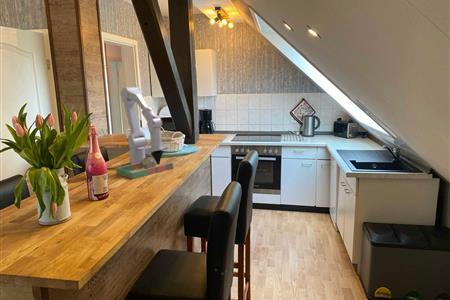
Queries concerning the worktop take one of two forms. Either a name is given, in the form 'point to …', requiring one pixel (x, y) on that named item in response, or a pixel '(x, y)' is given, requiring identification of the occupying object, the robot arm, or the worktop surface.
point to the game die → (149, 162)
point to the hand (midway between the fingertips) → (157, 164)
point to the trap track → (128, 173)
